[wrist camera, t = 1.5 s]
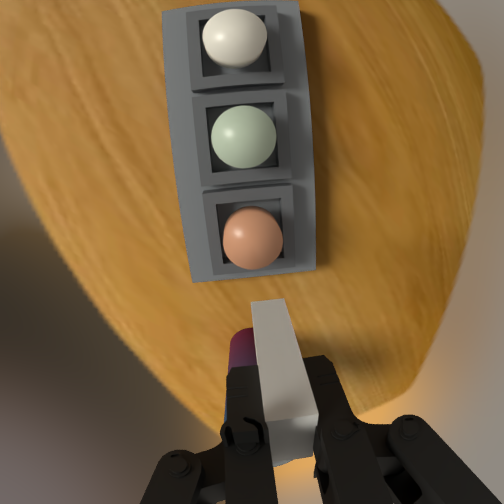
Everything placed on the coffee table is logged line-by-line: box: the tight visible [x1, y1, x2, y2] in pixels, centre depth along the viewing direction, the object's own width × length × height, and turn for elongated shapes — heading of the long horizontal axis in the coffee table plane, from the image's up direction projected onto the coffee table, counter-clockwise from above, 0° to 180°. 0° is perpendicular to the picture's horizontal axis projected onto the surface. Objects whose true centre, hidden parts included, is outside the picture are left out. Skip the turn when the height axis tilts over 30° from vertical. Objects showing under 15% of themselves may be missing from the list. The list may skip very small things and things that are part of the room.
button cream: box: [203, 9, 267, 69], centre depth 18 cm, size 5×5×2 cm
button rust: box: [223, 206, 283, 270], centre depth 24 cm, size 5×5×2 cm
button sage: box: [211, 106, 276, 168], centre depth 21 cm, size 5×5×2 cm
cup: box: [224, 328, 294, 467], centre depth 27 cm, size 7×7×15 cm
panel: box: [162, 0, 316, 283], centre depth 24 cm, size 26×12×4 cm, turn 5°
